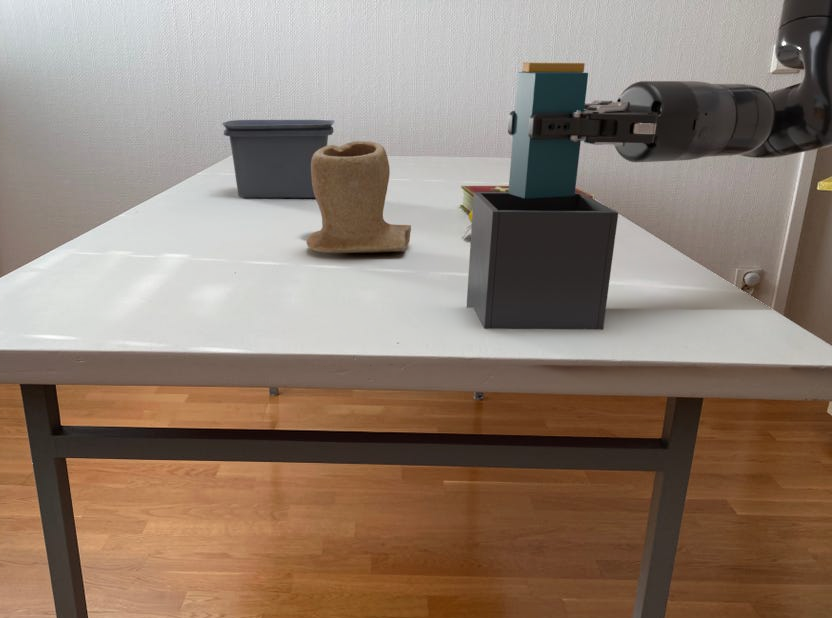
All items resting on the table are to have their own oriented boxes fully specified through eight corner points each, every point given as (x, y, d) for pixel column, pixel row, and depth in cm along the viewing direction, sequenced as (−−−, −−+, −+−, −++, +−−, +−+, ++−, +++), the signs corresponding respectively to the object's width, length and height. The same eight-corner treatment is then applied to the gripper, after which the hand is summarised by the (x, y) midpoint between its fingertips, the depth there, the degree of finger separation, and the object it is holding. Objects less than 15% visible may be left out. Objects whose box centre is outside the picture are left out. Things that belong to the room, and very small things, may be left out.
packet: (558, 191, 76) (571, 62, 72) (576, 196, 74) (591, 63, 70) (506, 194, 75) (517, 62, 70) (523, 199, 72) (535, 62, 68)
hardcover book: (592, 218, 135) (595, 194, 134) (473, 219, 134) (475, 194, 132) (570, 206, 146) (572, 184, 145) (460, 207, 145) (461, 184, 143)
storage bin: (222, 200, 149) (218, 122, 144) (234, 188, 164) (231, 117, 159) (333, 201, 149) (333, 124, 144) (335, 189, 164) (335, 118, 159)
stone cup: (305, 263, 103) (304, 146, 98) (306, 243, 114) (305, 137, 109) (419, 262, 104) (424, 146, 98) (409, 243, 115) (413, 138, 109)
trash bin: (569, 310, 84) (583, 192, 79) (601, 345, 73) (618, 212, 69) (466, 310, 84) (473, 191, 79) (483, 344, 73) (492, 211, 69)
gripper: (630, 79, 81) (485, 79, 76) (735, 83, 69) (570, 83, 63) (621, 152, 84) (480, 158, 78) (720, 169, 72) (560, 177, 66)
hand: (521, 125), depth 71 cm, fingers closed on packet, 3 cm apart
